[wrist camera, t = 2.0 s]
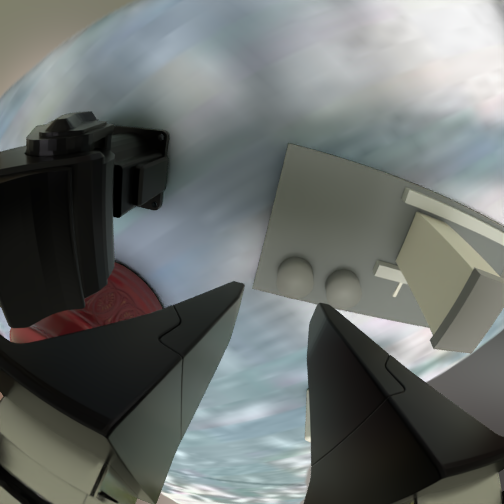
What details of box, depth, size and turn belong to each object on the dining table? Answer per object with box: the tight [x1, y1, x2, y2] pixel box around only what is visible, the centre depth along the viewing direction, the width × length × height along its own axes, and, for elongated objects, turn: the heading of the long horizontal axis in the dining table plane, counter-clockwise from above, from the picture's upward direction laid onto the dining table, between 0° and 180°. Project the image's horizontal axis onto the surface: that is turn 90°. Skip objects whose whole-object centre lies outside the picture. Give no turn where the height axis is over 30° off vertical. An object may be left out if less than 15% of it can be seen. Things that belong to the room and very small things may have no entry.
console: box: [252, 143, 504, 328], centre depth 19 cm, size 24×12×4 cm, turn 78°
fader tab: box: [396, 211, 504, 353], centre depth 15 cm, size 3×5×10 cm
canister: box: [10, 262, 162, 344], centre depth 21 cm, size 13×13×18 cm
